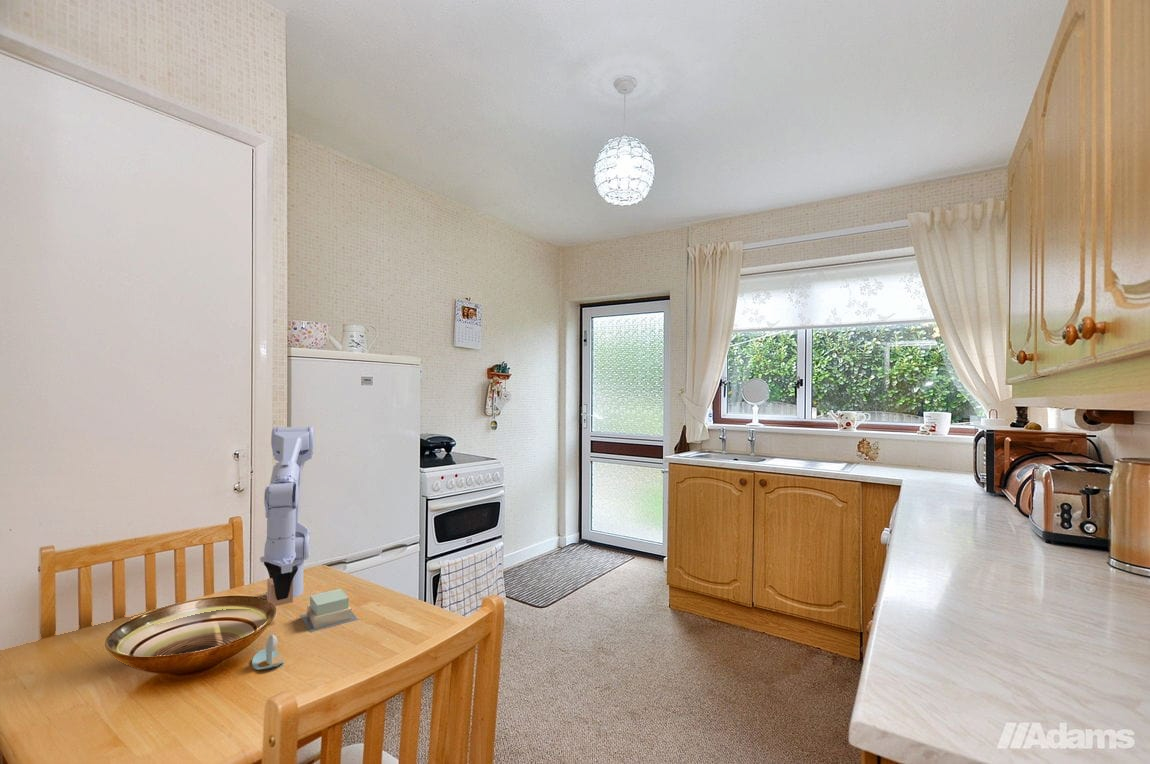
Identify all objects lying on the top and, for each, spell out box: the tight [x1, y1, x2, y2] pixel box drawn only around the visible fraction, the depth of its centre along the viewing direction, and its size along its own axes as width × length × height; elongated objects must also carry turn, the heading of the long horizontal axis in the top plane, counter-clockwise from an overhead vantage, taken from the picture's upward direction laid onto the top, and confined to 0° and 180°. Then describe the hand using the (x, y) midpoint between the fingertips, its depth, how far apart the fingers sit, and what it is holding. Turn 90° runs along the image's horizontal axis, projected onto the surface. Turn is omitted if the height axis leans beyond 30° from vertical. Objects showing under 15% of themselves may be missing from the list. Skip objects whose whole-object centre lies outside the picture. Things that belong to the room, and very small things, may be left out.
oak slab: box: [306, 604, 352, 628], centre depth 118 cm, size 8×8×2 cm
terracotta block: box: [266, 577, 294, 607], centre depth 117 cm, size 4×4×5 cm
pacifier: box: [251, 634, 285, 671], centre depth 99 cm, size 7×6×6 cm
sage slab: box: [309, 588, 349, 616], centre depth 118 cm, size 7×7×2 cm
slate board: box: [299, 610, 359, 633], centre depth 118 cm, size 10×10×1 cm
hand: (280, 594), depth 117 cm, fingers closed on terracotta block, 4 cm apart
